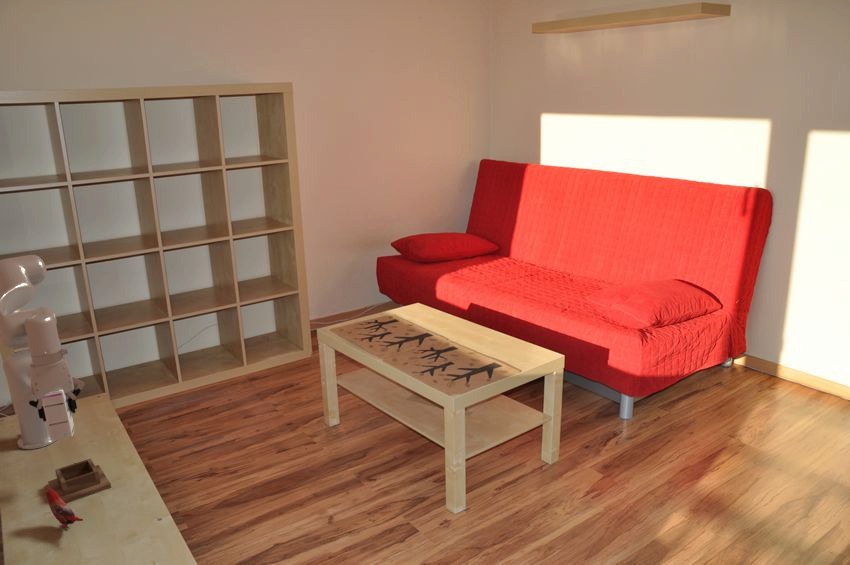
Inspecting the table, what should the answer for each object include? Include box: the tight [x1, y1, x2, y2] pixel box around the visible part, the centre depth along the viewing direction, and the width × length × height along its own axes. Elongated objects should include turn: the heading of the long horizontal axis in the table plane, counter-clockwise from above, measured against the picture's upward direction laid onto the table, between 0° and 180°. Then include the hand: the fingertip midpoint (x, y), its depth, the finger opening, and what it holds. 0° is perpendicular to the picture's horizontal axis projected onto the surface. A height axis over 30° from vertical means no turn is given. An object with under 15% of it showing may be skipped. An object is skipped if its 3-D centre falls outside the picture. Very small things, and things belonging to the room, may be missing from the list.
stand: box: [47, 458, 112, 504], centre depth 199 cm, size 14×14×5 cm
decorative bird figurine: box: [45, 488, 84, 530], centre depth 178 cm, size 3×18×10 cm, turn 55°
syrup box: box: [42, 390, 76, 441], centre depth 194 cm, size 6×6×14 cm
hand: (58, 415), depth 195 cm, fingers closed on syrup box, 6 cm apart
